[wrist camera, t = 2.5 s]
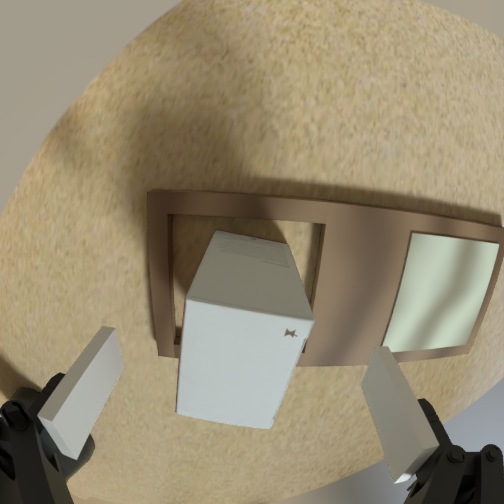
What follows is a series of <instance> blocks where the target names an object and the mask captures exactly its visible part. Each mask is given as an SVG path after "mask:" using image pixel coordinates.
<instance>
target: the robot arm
mask: <svg viewBox="0 0 504 504" xmlns="http://www.w3.org/2000/svg"><path fill="white" fill-rule="evenodd" d="M123 370H124V365H123V361H122V357H121V352H120V348H119V343H118V338H117V333H116V328H112V327H107V326H102V327H101V329H100V330H99V331H98V333H97V334H96V335H95V336H94V338H93V339H92V340H91V342H90V343H89V344H88V345H87V347H86V348H85V349H84V351H83V352H82V353H81V355H80V356H79V357H78V359H77V360H76V361H75V363H74V364H73V365H72V367H71V368H70V369H69V371H68V372H67V373H66V374H63V373H60V372H59V373H58V374H57V375H55V376H54V377H52V378H51V379H50V380H49V382H48V383H47V384H46V387H44V388H43V390H42V392H41V393H38V392H36V391H33V390H30V389H26V388H20V389H18V390H17V391H16V392H15V393H14V395H13V396H12V397H11V399H10V401H7V402H5V403H4V404H3V405H2V407H1V408H0V415H1V417H0V504H74V503H73V500H72V498H71V495H70V493H69V490H68V487H67V485H66V483H67V481H68V480H69V478H70V477H72V476H73V475H74V474H75V473H76V472H77V471H78V470H79V469H80V468H81V467H82V466H83V465H84V464H85V463H87V462H88V461H89V460H90V458H91V456H92V454H93V451H94V449H95V444H94V441H93V439H92V437H91V435H90V432H91V430H92V428H93V426H94V424H95V422H96V420H97V418H98V416H99V414H100V412H101V411H102V409H103V407H104V405H105V403H106V401H107V399H108V397H109V395H110V393H111V392H112V390H113V388H114V386H115V384H116V382H117V381H118V379H119V377H120V375H121V373H122V371H123ZM361 387H362V390H363V393H364V395H365V398H366V401H367V404H368V407H369V409H370V412H371V415H372V418H373V421H374V424H375V427H376V430H377V432H378V435H379V438H380V441H381V444H382V447H383V451H384V454H385V457H386V460H387V463H388V466H389V469H390V473H391V476H392V479H393V482H394V483H399V482H403V481H407V480H409V479H410V478H411V477H412V476H413V475H414V474H416V477H417V480H416V481H415V482H414V483H413V484H412V485H411V486H410V487H409V488H408V489H407V491H409V490H410V489H411V491H410V492H409V494H408V497H407V498H406V500H405V502H404V504H504V465H503V455H502V451H501V450H500V448H499V447H497V446H496V445H493V444H489V445H486V446H484V448H482V450H481V451H480V452H465V450H464V449H463V448H461V447H460V446H457V445H453V444H452V443H451V441H450V439H449V437H448V435H447V433H446V431H445V429H444V427H443V425H442V423H441V421H439V420H440V419H439V417H438V416H437V415H436V412H435V410H434V408H433V406H432V405H431V404H430V403H429V402H428V401H427V400H426V399H425V398H423V399H416V397H415V395H414V393H413V391H412V389H411V387H410V385H409V383H408V381H407V380H406V378H405V376H404V374H403V372H402V370H401V369H400V367H399V365H398V363H397V361H396V360H395V358H394V356H393V354H392V352H391V351H390V349H389V347H388V346H381V347H375V348H374V351H373V354H372V357H371V360H370V362H369V365H368V368H367V371H366V373H365V376H364V378H363V381H362V384H361Z"/></svg>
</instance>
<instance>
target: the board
mask: <svg viewBox="0 0 504 504" xmlns="http://www.w3.org/2000/svg"><path fill="white" fill-rule="evenodd" d="M172 214H186V215H206V216H224V217H241V218H256V219H271V220H285V221H298V222H310V223H322V227H321V235H320V242H319V250H318V257H317V264H316V270H315V277H314V283H313V290H312V296H311V302H310V308H311V311H312V314H313V317H314V320H315V322H314V324H313V327H312V329H311V331H310V334H309V336H308V338H307V340H306V342H305V345H304V347H303V350H302V352H301V355H300V357H299V359H298V362H297V364H296V366H353V365H369V362H370V360H371V357H372V354H373V351H374V348H375V347H381V346H388V347H389V349H390V351H391V352H392V354H393V356H394V358H395V360H396V361H397V363H399V362H409V361H419V360H427V359H435V358H442V357H449V356H456V355H462V354H468V353H469V351H470V349H471V347H472V345H473V342H474V340H475V338H476V336H477V333H478V331H479V328H480V326H481V324H482V321H483V319H484V316H485V313H486V311H487V308H488V305H489V302H490V300H491V297H492V294H493V291H494V288H495V285H496V281H497V278H498V275H499V271H500V268H501V264H502V261H503V257H504V227H501V226H496V225H491V224H486V223H481V222H476V221H470V220H465V219H460V218H454V217H448V216H442V215H436V214H430V213H424V212H417V211H411V210H404V209H397V208H389V207H382V206H374V205H366V204H358V203H349V202H340V201H331V200H321V199H311V198H300V197H289V196H276V195H262V194H247V193H230V192H210V191H184V190H151V191H148V192H147V220H148V249H149V267H150V282H151V294H152V305H153V315H154V325H155V333H156V341H157V349H158V356H164V357H171V358H179V352H180V341H181V337H177V336H176V323H175V308H174V289H173V264H172Z"/></svg>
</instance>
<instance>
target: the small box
mask: <svg viewBox="0 0 504 504" xmlns="http://www.w3.org/2000/svg"><path fill="white" fill-rule="evenodd" d="M314 322H315V320H314V317H313V314H312V311H311V308H310V305H309V302H308V299H307V296H306V293H305V290H304V287H303V284H302V281H301V278H300V275H299V272H298V269H297V266H296V264H295V261H294V258H293V255H292V252H291V250H290V247H289V245H288V244H283V243H279V242H274V241H269V240H264V239H259V238H255V237H250V236H245V235H240V234H235V233H230V232H225V231H220V230H216V231H215V233H214V235H213V237H212V239H211V241H210V243H209V245H208V248H207V250H206V252H205V254H204V256H203V259H202V261H201V263H200V265H199V268H198V270H197V272H196V275H195V277H194V279H193V281H192V284H191V286H190V288H189V291H188V293H187V295H186V297H185V302H184V311H183V321H182V331H181V341H180V352H179V365H178V378H177V394H176V410H175V412H176V413H177V414H181V415H185V416H189V417H193V418H198V419H203V420H209V421H214V422H220V423H226V424H232V425H239V426H246V427H254V428H263V429H270V428H271V427H272V425H273V422H274V419H275V416H276V414H277V411H278V409H279V406H280V404H281V401H282V399H283V397H284V394H285V392H286V389H287V387H288V384H289V382H290V379H291V377H292V374H293V372H294V370H295V367H296V364H297V362H298V359H299V357H300V355H301V352H302V350H303V347H304V345H305V342H306V340H307V338H308V336H309V334H310V331H311V329H312V327H313V324H314Z"/></svg>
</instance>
